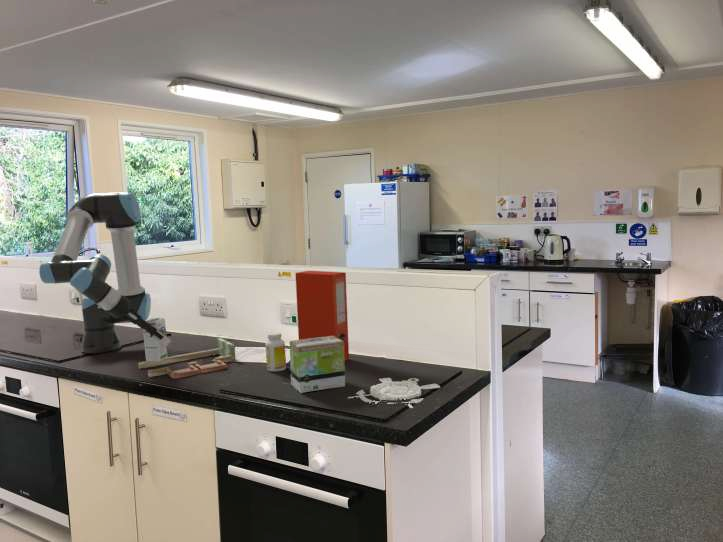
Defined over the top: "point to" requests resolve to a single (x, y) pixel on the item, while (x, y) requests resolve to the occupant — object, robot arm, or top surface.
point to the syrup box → (155, 341)
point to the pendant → (396, 391)
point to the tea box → (317, 363)
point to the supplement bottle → (275, 352)
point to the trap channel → (193, 368)
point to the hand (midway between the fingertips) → (165, 341)
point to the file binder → (322, 306)
